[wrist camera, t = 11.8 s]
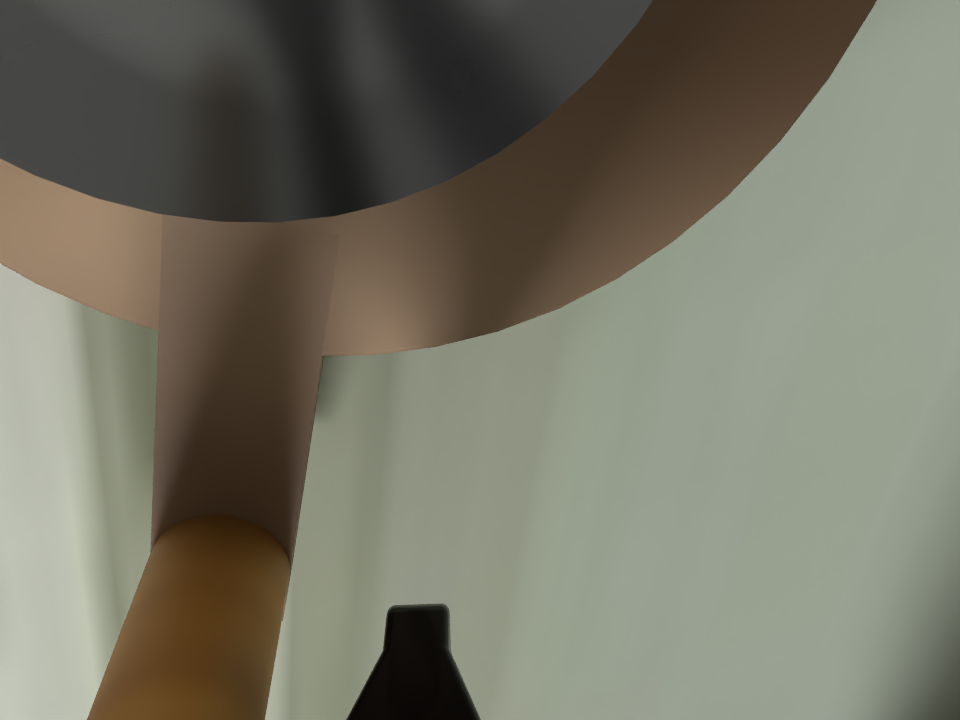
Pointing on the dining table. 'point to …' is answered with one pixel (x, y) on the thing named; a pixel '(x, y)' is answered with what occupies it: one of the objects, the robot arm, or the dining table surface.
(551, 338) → the dining table surface
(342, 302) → the turntable
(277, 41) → the cover
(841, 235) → the dining table surface
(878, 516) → the dining table surface
